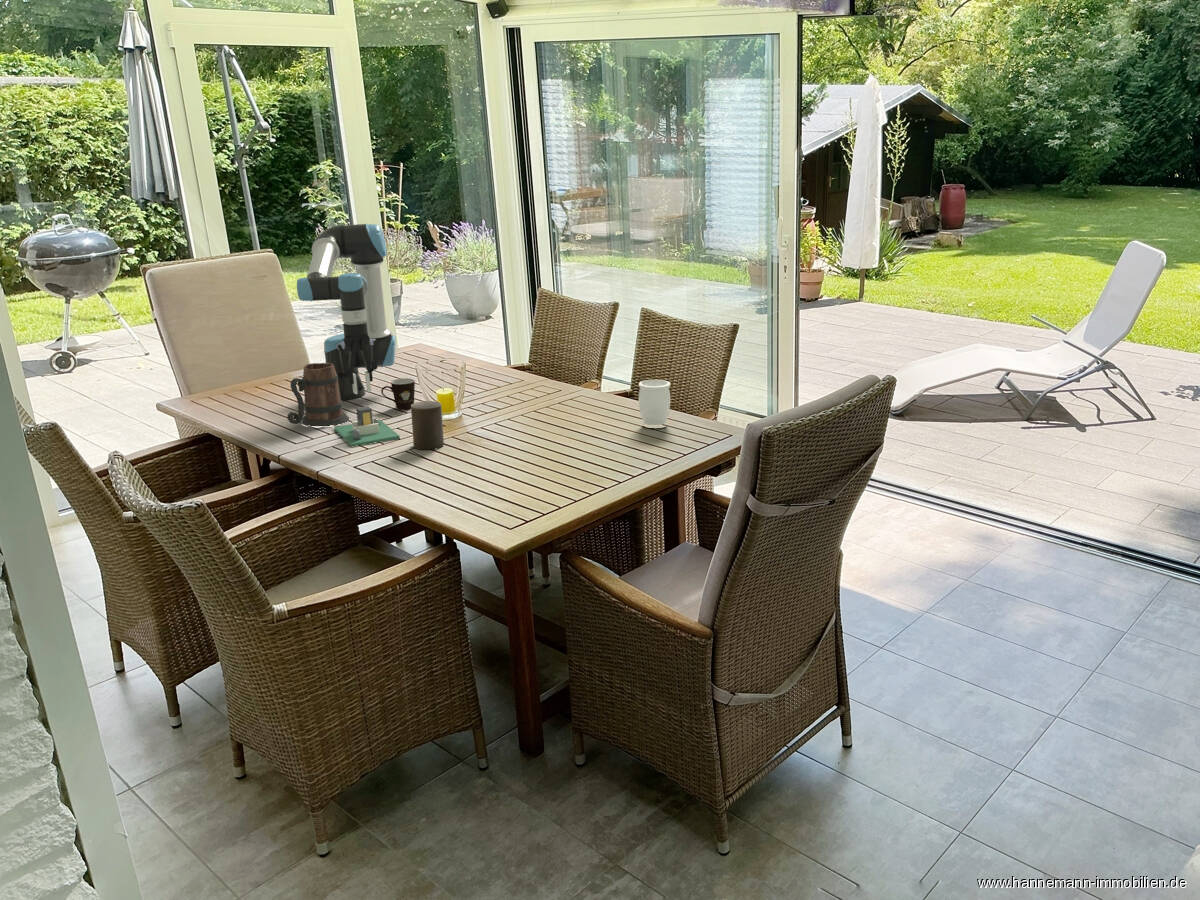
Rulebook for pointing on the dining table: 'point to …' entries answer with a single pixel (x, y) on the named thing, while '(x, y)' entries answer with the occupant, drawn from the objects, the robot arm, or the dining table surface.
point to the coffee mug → (402, 392)
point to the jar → (654, 401)
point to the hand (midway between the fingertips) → (362, 392)
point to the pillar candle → (427, 425)
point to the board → (366, 433)
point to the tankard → (318, 397)
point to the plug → (364, 416)
